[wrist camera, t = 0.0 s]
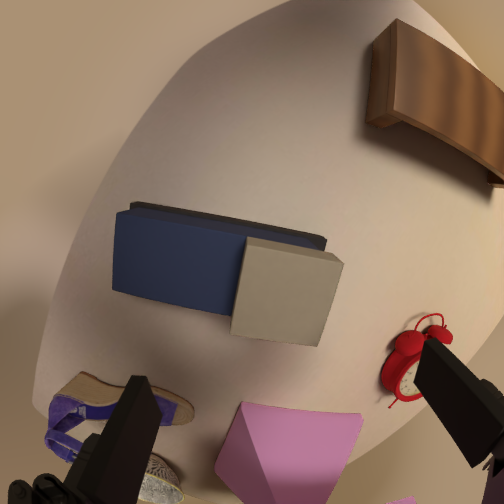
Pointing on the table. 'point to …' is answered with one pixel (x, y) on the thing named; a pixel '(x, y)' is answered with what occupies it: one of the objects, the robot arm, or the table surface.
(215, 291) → the stacked block toy
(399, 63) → the low wooden table
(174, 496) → the bowl
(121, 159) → the table surface
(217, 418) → the table surface
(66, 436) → the sandal
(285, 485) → the pink table lamp
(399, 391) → the alarm clock
